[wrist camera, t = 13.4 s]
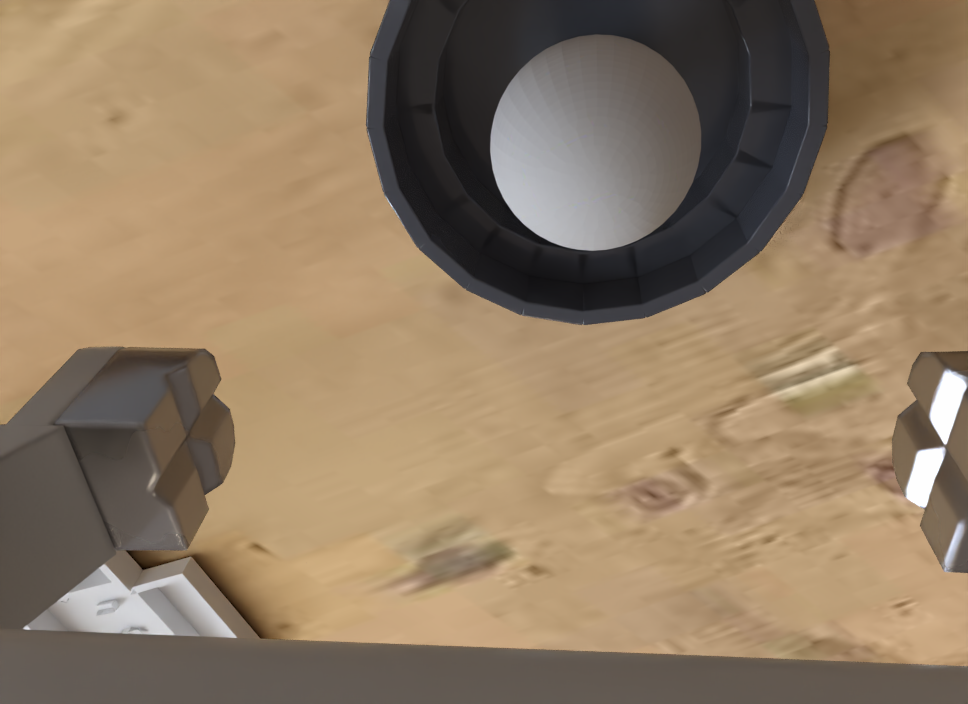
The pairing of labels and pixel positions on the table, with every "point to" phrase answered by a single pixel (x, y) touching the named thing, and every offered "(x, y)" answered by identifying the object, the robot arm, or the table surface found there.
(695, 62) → the bowl
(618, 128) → the light bulb
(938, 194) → the table surface
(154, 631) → the floor plan model
